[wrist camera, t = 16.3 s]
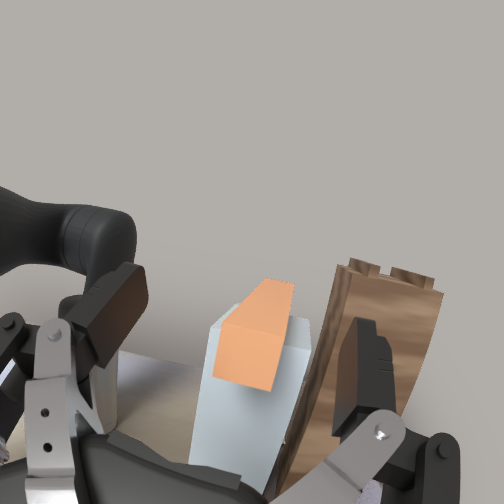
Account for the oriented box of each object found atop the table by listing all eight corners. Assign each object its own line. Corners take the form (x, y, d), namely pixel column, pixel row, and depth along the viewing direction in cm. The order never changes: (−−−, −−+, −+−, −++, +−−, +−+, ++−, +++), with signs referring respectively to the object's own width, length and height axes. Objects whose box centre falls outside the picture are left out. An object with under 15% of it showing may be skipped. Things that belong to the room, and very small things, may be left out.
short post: (258, 503, 29) (311, 350, 28) (185, 483, 31) (210, 326, 29) (269, 453, 41) (308, 319, 39) (209, 438, 42) (236, 303, 41)
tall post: (344, 513, 27) (446, 281, 25) (273, 506, 29) (355, 261, 27) (339, 464, 39) (408, 270, 37) (280, 455, 41) (339, 255, 38)
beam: (270, 391, 18) (285, 337, 18) (212, 376, 19) (222, 321, 19) (288, 311, 42) (294, 283, 42) (260, 305, 43) (266, 277, 42)
